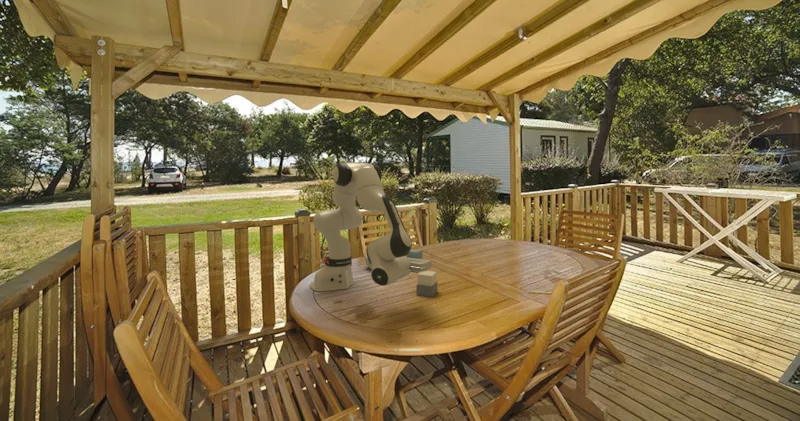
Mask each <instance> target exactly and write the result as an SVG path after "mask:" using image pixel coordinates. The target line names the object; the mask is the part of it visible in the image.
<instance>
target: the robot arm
mask: <svg viewBox="0 0 800 421" xmlns="http://www.w3.org/2000/svg"><path fill="white" fill-rule="evenodd" d="M332 176H333V177H332V179H333V182H334V183H335V184H334V189H333V192H332V193H333V194H332V201H333V203H334V205H336V206H337V207H338V208H335V209H334V208H333V209H324V210H321V211H317V212H316V213H315V214H314V216H313V219H312V220H313V221H312V222H313V226H314V228H315V229H316V230H317V231H318V232H320V233H321V234H322V236H324V237H325V240H326V243H327V247H328V248H327V250H328V257H327V258H326V257H323V258H322V261H323V263H324V264H325V265H324V266H323V267H321V268H320V269H319V270H318V271H317V272H316V273H315V275H314V278H313V279H314V280H313V281H310V284H309V288H310V289H311V290H313V291H314V292H329V291H337V290H346V289H349V288H350V287H351V286H353V285H354V284H355V280H354V277H353V272H352V266H353V264H352V263H353V261H352V260H353V259H352V255H351V242H350V241H349V239H348V238H346V237H344V236H342V235H341V232H340V231H345V230H353V229H355V228H358V227H361V225H362V223H363V218H364V217H363V215H362V211H360V210H359V209H358V207H357V206H356V201H357V202H358V204H359V206H360V207H361V208H362V209H363V210H365V211H368V212H375V213H379V212H383V214H384V216H385V219H386V221H387V224H388V225H389V226H388V227H389V228H390V231H389V233H388V234H385V235H384V236H382V237H378V238H376V239H374V240H372V241H370V242H369V243H368V244H367V247H366V255H367V257H368V260H369V262H370V264H371V265H372V269H371V273H370V275H371V278H372V280H373V282H374V283H375V284H377V285H378V286H384V287H385V286H389V285H391V284H394V283H396V282H398V281H399V280H401V279H403V278H406V277H408V276H409V274H411V273H412V272H411V271H417V272H418V273H420V272H424V271H430V270H431V268H432V261H431V260H430V259H425V258H423V257H422V258H419V259H417V258H408V257H407V255H408V254H409V252H410V250H411V249H412V246H413V241H412V238H411V237H410V235H409V233H408V231H407V229H406V228H405V225H404V223H403V221H402V218H401V216H400V213H399V211H398V209H397V206H396V203H395V202H394V200H393V199H392V196H390V195H388V194H386V193H385V192H384V188H383V186H382V185H383V183H382V177H383V172H382V169H381V167H380V165H377V164H375V163H366V162H362V161H361V162H360V161H359V162H343V161H342V162H338V163H336V164H335V166H334V168H333V171H332Z"/></svg>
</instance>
